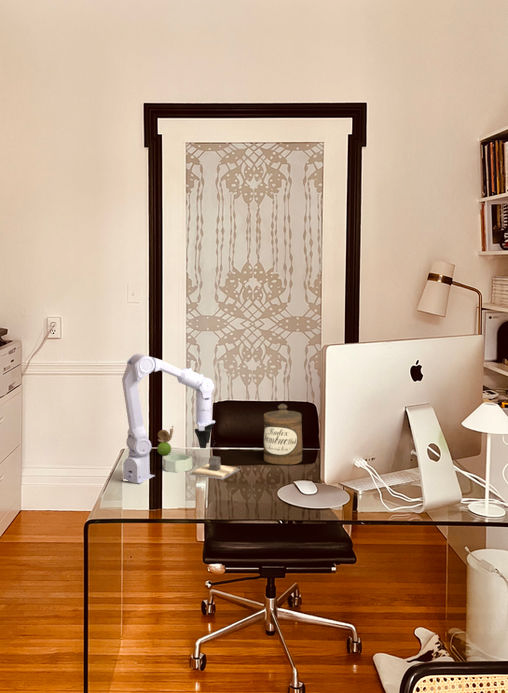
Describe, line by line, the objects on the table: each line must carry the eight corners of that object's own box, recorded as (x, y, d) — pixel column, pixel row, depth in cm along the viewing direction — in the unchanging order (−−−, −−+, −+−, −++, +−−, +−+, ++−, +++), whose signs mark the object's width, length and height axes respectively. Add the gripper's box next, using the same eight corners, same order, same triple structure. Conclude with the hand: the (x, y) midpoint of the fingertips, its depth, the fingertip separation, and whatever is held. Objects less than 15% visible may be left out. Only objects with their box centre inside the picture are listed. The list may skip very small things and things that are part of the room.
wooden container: (258, 463, 270) (258, 406, 268) (270, 453, 284) (270, 399, 282) (296, 467, 266) (296, 409, 263) (306, 456, 280) (306, 401, 277)
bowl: (182, 474, 256) (182, 462, 256) (158, 471, 261) (158, 459, 260) (196, 467, 265) (196, 455, 265) (173, 464, 270) (173, 452, 269)
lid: (221, 478, 250) (221, 463, 250) (192, 474, 255) (192, 459, 255) (237, 469, 261) (236, 455, 260) (208, 465, 266) (208, 451, 266)
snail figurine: (172, 457, 280) (172, 427, 278) (156, 457, 280) (155, 427, 278) (174, 453, 285) (174, 424, 284) (158, 453, 285) (158, 424, 284)
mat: (223, 480, 249) (223, 479, 249) (188, 475, 255) (188, 474, 255) (240, 470, 262) (240, 469, 262) (207, 465, 268) (207, 464, 267)
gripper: (212, 413, 254) (212, 450, 255) (217, 405, 268) (217, 440, 270) (192, 413, 254) (193, 450, 256) (198, 405, 268) (199, 440, 270)
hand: (204, 445), depth 263 cm, fingers open, 7 cm apart
